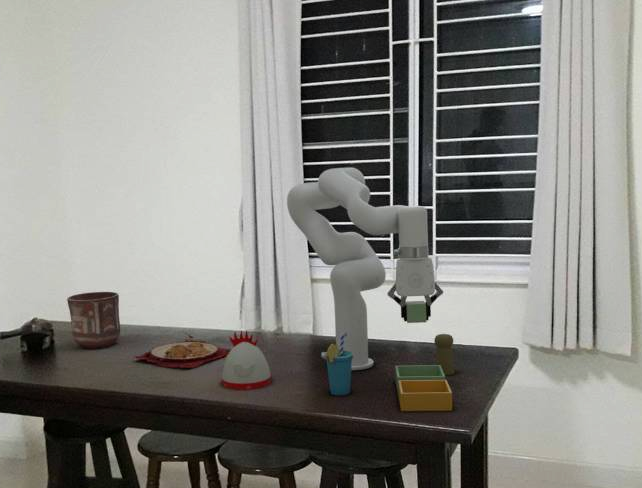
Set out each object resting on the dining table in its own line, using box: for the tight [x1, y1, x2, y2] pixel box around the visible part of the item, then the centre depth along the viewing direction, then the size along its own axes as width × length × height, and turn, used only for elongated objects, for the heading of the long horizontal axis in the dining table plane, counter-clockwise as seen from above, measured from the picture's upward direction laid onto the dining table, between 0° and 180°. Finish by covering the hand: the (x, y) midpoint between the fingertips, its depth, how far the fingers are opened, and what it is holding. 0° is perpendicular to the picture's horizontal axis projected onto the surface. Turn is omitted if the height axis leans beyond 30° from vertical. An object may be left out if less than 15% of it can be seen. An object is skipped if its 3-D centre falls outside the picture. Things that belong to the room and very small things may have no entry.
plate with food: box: [133, 334, 232, 369], centre depth 249 cm, size 24×26×3 cm
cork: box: [433, 333, 456, 376], centre depth 216 cm, size 6×6×11 cm
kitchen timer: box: [221, 330, 272, 390], centre depth 216 cm, size 14×14×15 cm
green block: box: [405, 300, 427, 324], centre depth 205 cm, size 5×5×5 cm
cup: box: [325, 333, 353, 396], centre depth 203 cm, size 14×8×15 cm, turn 159°
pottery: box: [66, 291, 121, 350], centre depth 271 cm, size 18×18×18 cm
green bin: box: [394, 364, 446, 392], centre depth 204 cm, size 12×11×4 cm
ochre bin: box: [397, 379, 453, 412], centre depth 190 cm, size 12×11×4 cm
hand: (416, 319), depth 205 cm, fingers closed on green block, 5 cm apart
